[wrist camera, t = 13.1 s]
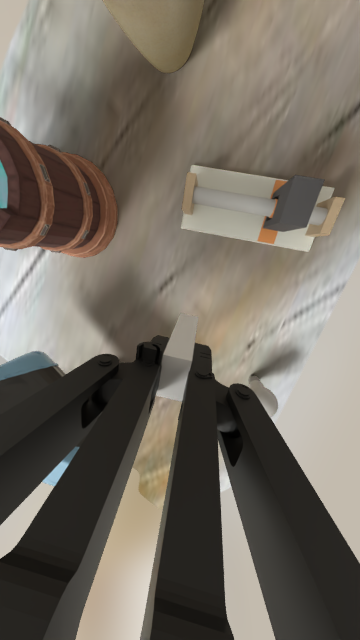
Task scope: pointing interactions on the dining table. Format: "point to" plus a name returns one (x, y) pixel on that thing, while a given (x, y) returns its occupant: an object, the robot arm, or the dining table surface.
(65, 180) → the mug
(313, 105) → the dining table surface
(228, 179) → the rail
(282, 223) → the dark grey slider block
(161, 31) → the plant pot
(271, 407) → the lightbulb
